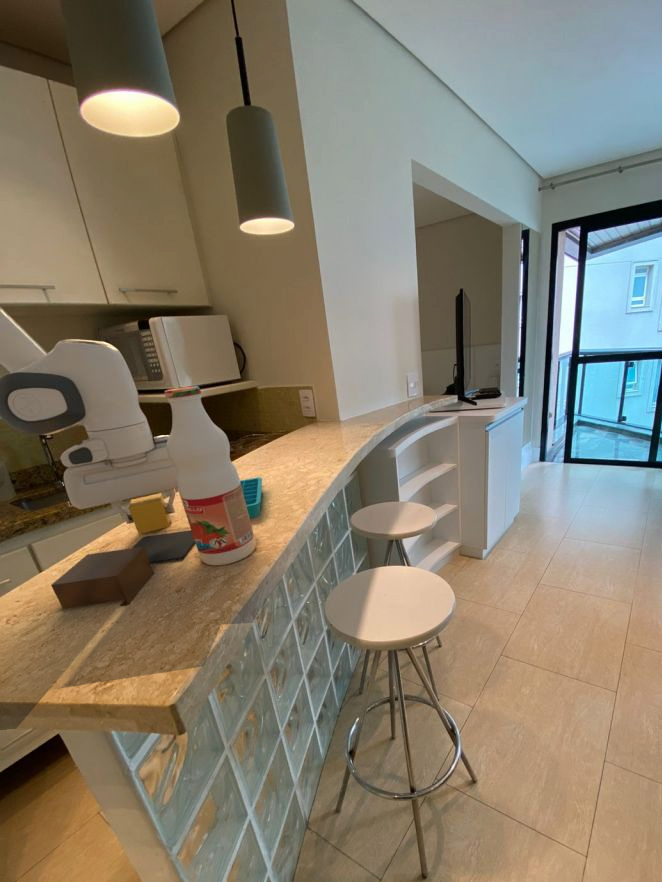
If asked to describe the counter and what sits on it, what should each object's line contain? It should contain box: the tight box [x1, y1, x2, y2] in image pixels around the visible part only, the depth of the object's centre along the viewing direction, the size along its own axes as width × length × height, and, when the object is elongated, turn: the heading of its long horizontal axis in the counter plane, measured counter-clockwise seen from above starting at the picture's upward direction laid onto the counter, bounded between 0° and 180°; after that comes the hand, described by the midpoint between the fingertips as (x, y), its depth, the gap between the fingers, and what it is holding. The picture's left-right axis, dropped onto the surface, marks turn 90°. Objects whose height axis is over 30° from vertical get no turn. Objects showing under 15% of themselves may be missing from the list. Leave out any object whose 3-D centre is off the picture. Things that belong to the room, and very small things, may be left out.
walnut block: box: [50, 547, 155, 610], centre depth 62 cm, size 9×9×5 cm
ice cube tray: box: [240, 476, 263, 519], centre depth 93 cm, size 12×20×3 cm, turn 14°
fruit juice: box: [164, 385, 257, 566], centre depth 66 cm, size 9×9×28 cm
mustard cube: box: [128, 492, 171, 535], centre depth 73 cm, size 5×5×5 cm
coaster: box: [131, 529, 196, 565], centre depth 76 cm, size 12×12×1 cm
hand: (151, 517), depth 74 cm, fingers closed on mustard cube, 5 cm apart
